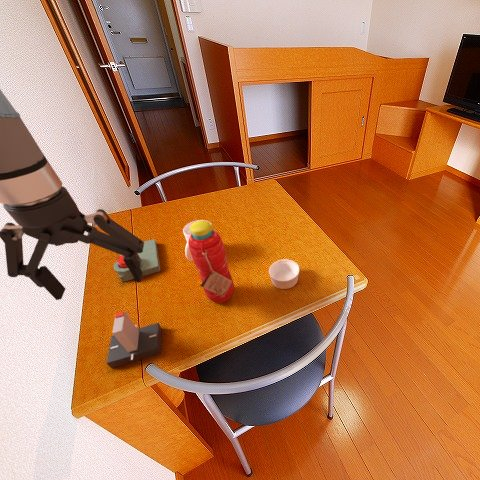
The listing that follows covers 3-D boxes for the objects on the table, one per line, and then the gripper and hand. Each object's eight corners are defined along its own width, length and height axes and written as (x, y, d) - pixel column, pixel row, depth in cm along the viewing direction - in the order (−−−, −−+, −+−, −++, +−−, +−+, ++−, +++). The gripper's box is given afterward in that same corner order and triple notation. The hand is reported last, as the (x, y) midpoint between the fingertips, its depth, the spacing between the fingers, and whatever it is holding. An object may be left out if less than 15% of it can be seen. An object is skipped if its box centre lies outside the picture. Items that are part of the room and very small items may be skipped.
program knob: (137, 349, 62) (121, 329, 57) (128, 352, 61) (111, 332, 56) (139, 331, 65) (124, 310, 60) (130, 333, 65) (115, 313, 60)
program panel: (110, 373, 60) (105, 367, 59) (116, 337, 67) (111, 331, 65) (161, 357, 63) (157, 351, 62) (162, 324, 70) (158, 318, 68)
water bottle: (239, 313, 73) (220, 242, 57) (207, 320, 71) (178, 249, 55) (235, 280, 82) (218, 210, 66) (207, 286, 80) (182, 215, 64)
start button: (135, 265, 80) (132, 260, 79) (119, 270, 78) (116, 265, 77) (135, 257, 83) (132, 252, 81) (120, 261, 81) (116, 256, 80)
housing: (160, 271, 83) (156, 262, 81) (119, 283, 79) (113, 274, 77) (157, 243, 93) (152, 234, 90) (120, 253, 89) (114, 244, 86)
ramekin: (271, 268, 86) (270, 258, 83) (300, 268, 86) (299, 258, 83) (268, 291, 79) (267, 281, 76) (299, 291, 80) (299, 281, 77)
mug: (203, 272, 84) (194, 247, 77) (179, 266, 85) (168, 241, 78) (223, 246, 93) (216, 222, 86) (201, 242, 94) (193, 217, 87)
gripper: (131, 172, 48) (170, 259, 61) (-61, 194, 40) (32, 287, 54) (124, 193, 42) (168, 283, 56) (-98, 223, 35) (16, 318, 49)
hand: (102, 285), depth 55 cm, fingers open, 13 cm apart
